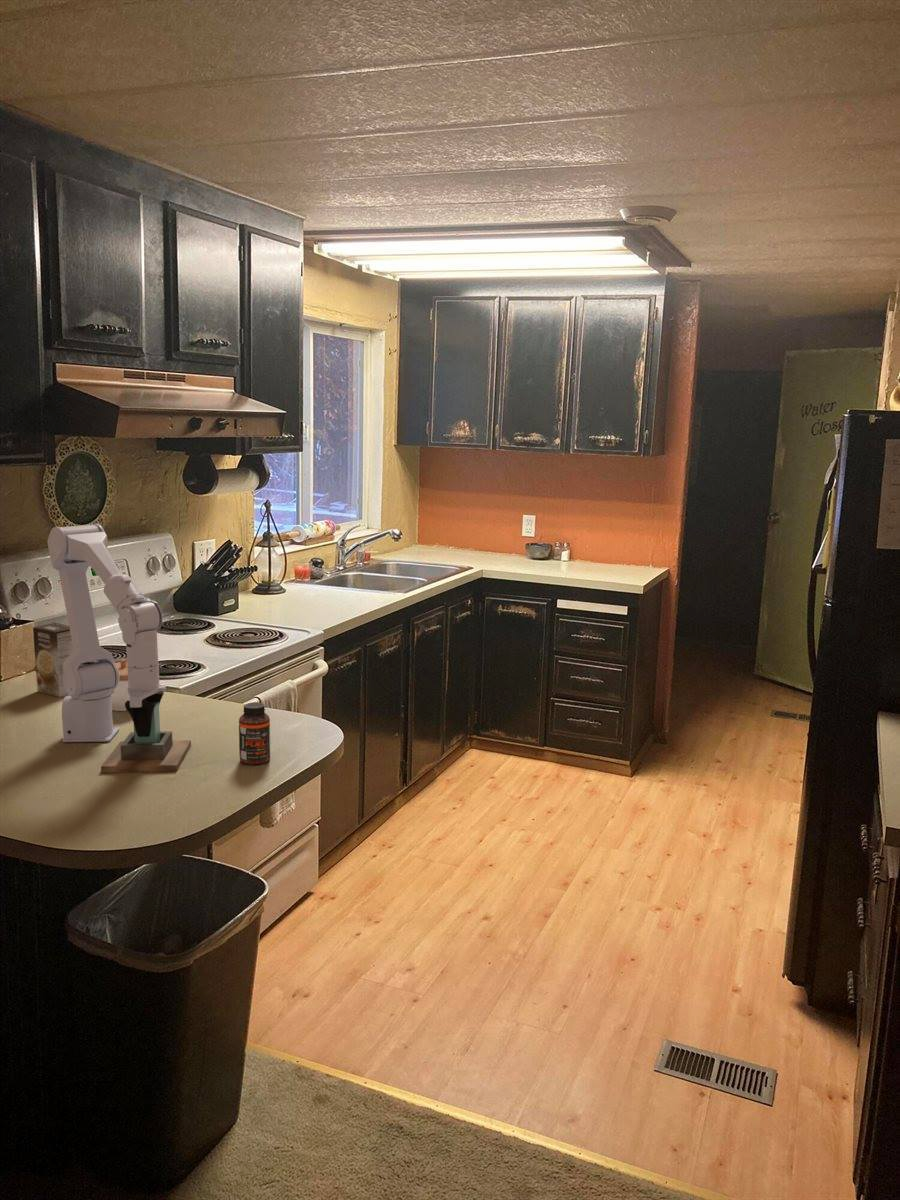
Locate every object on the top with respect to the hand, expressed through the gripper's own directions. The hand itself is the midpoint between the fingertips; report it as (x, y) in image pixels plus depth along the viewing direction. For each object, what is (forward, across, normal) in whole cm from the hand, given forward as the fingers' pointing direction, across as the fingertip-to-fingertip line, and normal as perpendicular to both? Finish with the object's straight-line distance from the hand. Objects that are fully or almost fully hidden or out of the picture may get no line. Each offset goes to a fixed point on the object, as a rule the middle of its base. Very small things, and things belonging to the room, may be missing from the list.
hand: (146, 732), depth 187 cm
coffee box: (+6, +48, +32) cm, 58 cm away
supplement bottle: (+6, -2, -21) cm, 22 cm away
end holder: (+5, 0, 0) cm, 5 cm away
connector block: (+3, 0, 0) cm, 3 cm away
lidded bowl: (+6, +35, +13) cm, 38 cm away
